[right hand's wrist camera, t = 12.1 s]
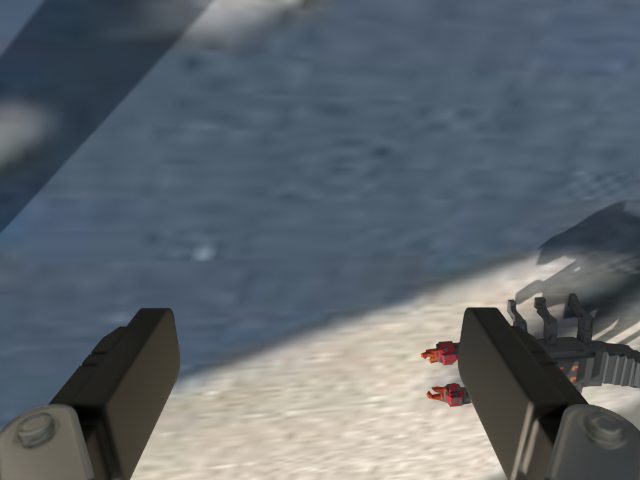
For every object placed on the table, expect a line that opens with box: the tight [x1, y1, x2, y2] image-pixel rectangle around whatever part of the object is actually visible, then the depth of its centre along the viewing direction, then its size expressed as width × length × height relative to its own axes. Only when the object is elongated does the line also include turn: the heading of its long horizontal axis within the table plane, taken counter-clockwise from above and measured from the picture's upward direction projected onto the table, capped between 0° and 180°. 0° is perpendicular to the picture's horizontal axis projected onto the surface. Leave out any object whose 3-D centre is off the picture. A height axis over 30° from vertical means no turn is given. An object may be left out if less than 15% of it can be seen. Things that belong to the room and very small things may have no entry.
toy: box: [421, 294, 640, 407], centre depth 40 cm, size 13×27×18 cm, turn 96°
